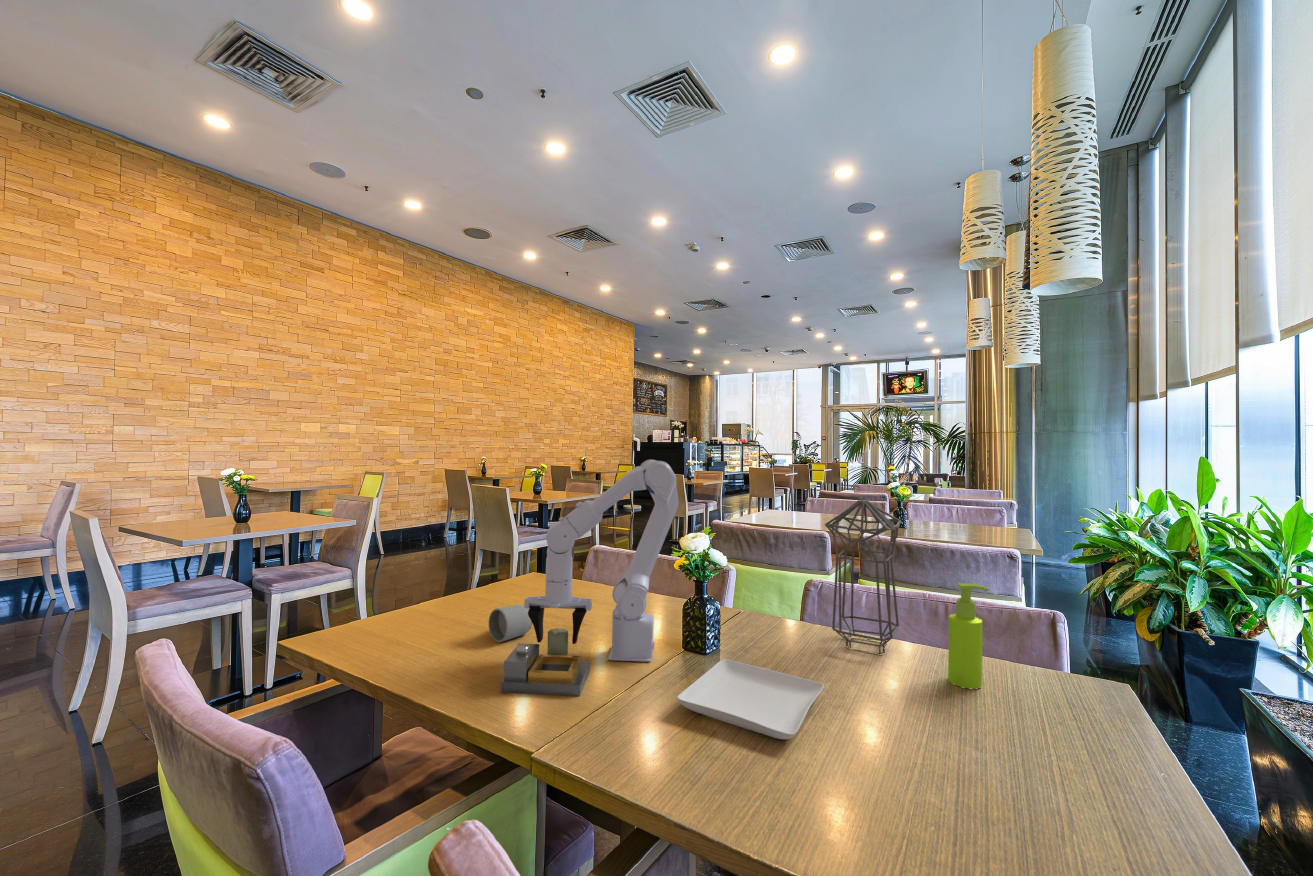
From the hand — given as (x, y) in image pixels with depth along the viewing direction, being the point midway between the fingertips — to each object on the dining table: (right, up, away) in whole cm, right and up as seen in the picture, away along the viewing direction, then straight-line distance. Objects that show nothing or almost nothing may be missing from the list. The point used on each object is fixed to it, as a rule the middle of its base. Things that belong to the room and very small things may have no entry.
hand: (557, 641), depth 115 cm
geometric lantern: (+71, -5, +11) cm, 72 cm away
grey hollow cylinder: (-15, -4, +13) cm, 20 cm away
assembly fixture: (0, -4, -10) cm, 11 cm away
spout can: (0, -4, 0) cm, 4 cm away
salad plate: (+39, -5, -19) cm, 44 cm away
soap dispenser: (+85, -6, -8) cm, 85 cm away
